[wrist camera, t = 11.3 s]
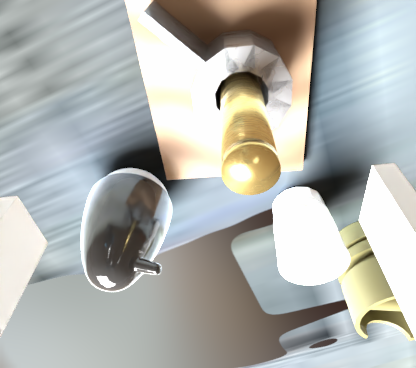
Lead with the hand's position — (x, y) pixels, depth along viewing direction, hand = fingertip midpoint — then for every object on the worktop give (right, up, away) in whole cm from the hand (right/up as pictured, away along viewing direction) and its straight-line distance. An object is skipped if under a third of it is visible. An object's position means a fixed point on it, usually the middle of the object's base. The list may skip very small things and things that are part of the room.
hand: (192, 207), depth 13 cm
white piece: (+2, +10, +21) cm, 23 cm away
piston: (+25, -8, +37) cm, 45 cm away
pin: (+4, +12, +20) cm, 23 cm away
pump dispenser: (-9, +1, +31) cm, 32 cm away
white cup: (+13, -2, +32) cm, 35 cm away
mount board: (+3, +11, +22) cm, 25 cm away
